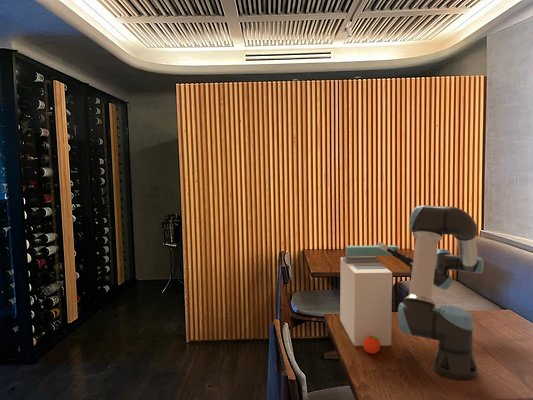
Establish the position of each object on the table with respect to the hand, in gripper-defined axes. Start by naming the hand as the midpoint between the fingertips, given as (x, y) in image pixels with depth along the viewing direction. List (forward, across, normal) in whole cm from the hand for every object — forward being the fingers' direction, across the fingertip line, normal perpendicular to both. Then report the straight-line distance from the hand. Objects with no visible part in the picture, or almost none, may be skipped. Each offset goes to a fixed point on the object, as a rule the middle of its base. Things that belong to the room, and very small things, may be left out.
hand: (379, 244), depth 192 cm
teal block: (+1, 0, -6) cm, 6 cm away
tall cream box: (-12, -6, -39) cm, 41 cm away
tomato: (-11, -28, -40) cm, 50 cm away
